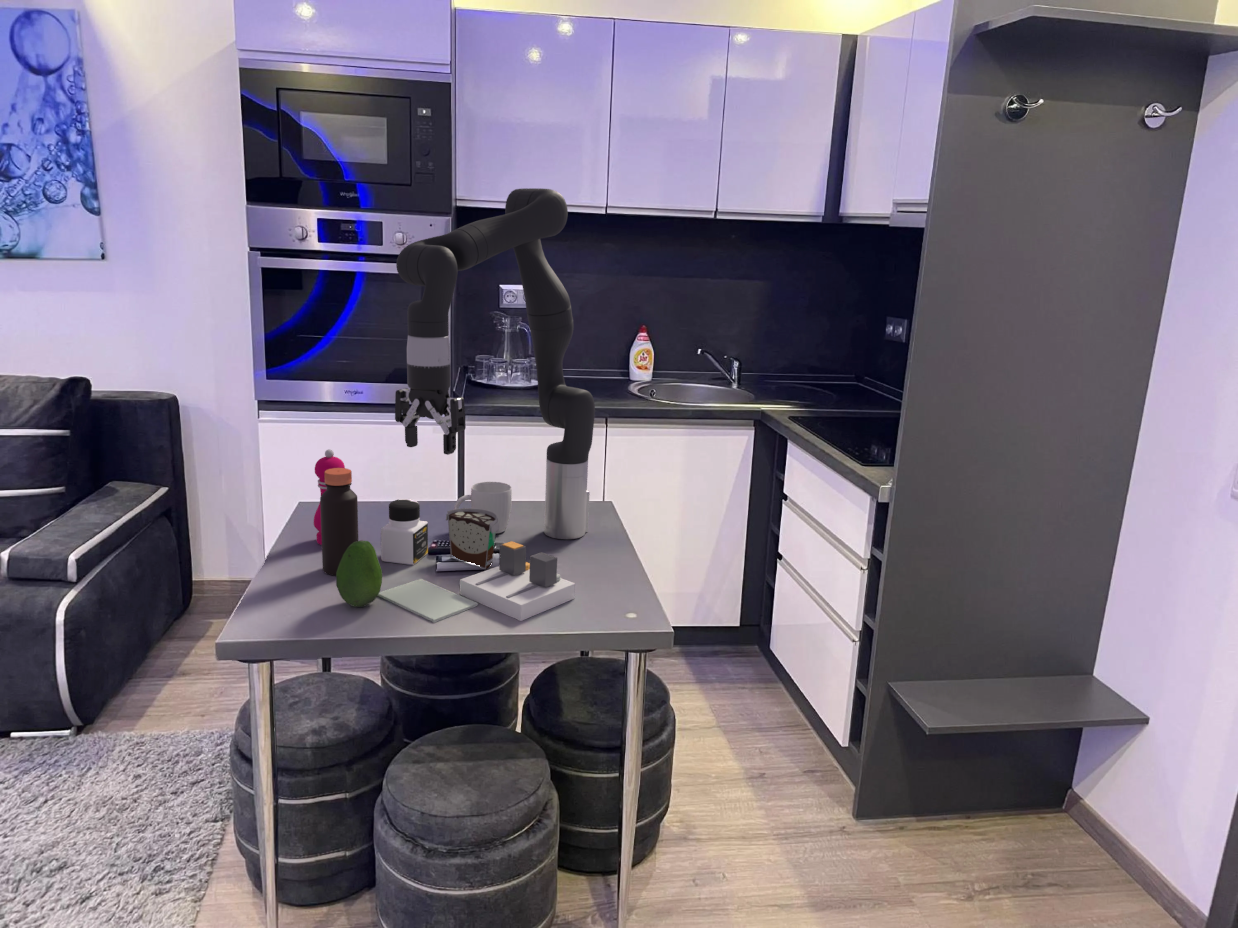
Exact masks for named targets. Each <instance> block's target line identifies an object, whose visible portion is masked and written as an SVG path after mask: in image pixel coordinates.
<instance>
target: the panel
mask: <svg viewBox="0 0 1238 928" xmlns="http://www.w3.org/2000/svg"><path fill="white" fill-rule="evenodd" d="M529 576H530V562H528V561H526V571H525V572H523V573H520V574H517V575H511V574H509V573H506V572H504V571H501V570H499V565H498V566H495V567H491V568H488V569H485V570H484V571H481V572H478V573H476V574H472V575H469V576H466V577H463V578H461V579H459V595H460V596H462V597H465V598H467V599H469V600H472V601H474V602H476V603H478V604H481V605H483V606H485V607H487V608H490V609H492V610H495V611H497V612H499V613H502V614H504V615H506V616H508V617H510V618H513V619H516V620H518V621H520V622H522V621H524V620H526V619H529V618H531V617H533V616H536V615H538V614H541V613H543V612H545V611H548V610H551V609H553V608H555V607H558V606H560V605H562V604H565V603H567V602H569V601H572V600H575V598H576V582H572V581H570V580H567V579H564V578H562V577H561V574H559V573H557V579H556V584H553V585H551V586H548V587H546V588H545V587H542V586H539V585H537V584H534V583H532V582H529Z"/></svg>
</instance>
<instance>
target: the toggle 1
mask: <svg viewBox="0 0 1238 928" xmlns="http://www.w3.org/2000/svg"><path fill="white" fill-rule="evenodd" d="M526 562H527V546H526V545H523V544H521V543H518V542H515V541H512V540H510V541H509V542H505V543H502V544H499V563H498V566H499V570H501V571H504V572H506V573H509V574H511V575H517V574H520V573H523V572H525V571H526Z"/></svg>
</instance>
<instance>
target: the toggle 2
mask: <svg viewBox="0 0 1238 928" xmlns="http://www.w3.org/2000/svg"><path fill="white" fill-rule="evenodd" d="M529 563H530V576H529V582H532V583H534V584H537V585H539V586H542V587H545V588H546V587H548V586H551V585H553V584H556V579H557V574H558V571H557V569H558V557H556V556H554V555H550V554H548V553H545V552H542V551H541V552H538V553H535V554H532V555H530V556H529Z"/></svg>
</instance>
